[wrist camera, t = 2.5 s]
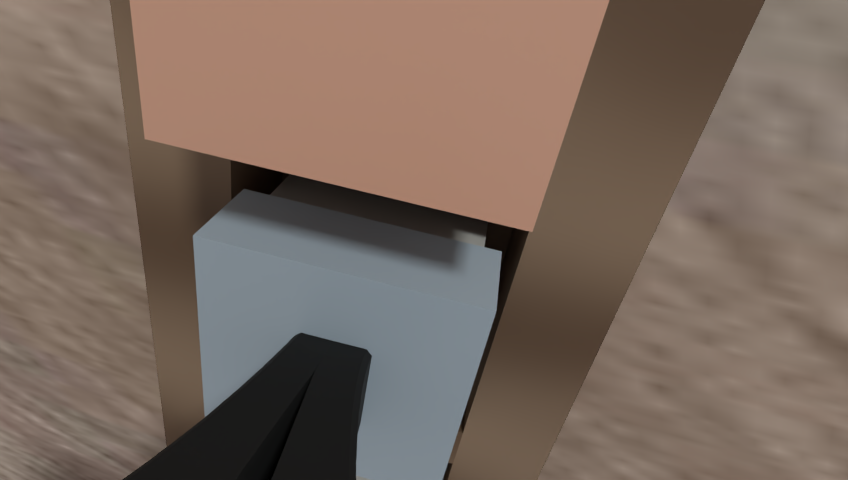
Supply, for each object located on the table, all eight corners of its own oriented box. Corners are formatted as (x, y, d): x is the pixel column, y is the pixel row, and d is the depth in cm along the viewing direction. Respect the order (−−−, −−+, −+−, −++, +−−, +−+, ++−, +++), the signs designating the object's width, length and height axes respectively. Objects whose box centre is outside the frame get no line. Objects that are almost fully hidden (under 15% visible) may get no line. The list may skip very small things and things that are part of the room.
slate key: (456, 377, 14) (436, 497, 11) (272, 330, 14) (205, 435, 11) (505, 211, 11) (496, 311, 8) (278, 157, 11) (192, 235, 9)
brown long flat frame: (477, 531, 20) (470, 620, 17) (222, 461, 20) (178, 538, 18) (834, -334, 8) (983, -460, 5) (185, -447, 8) (31, -611, 6)
